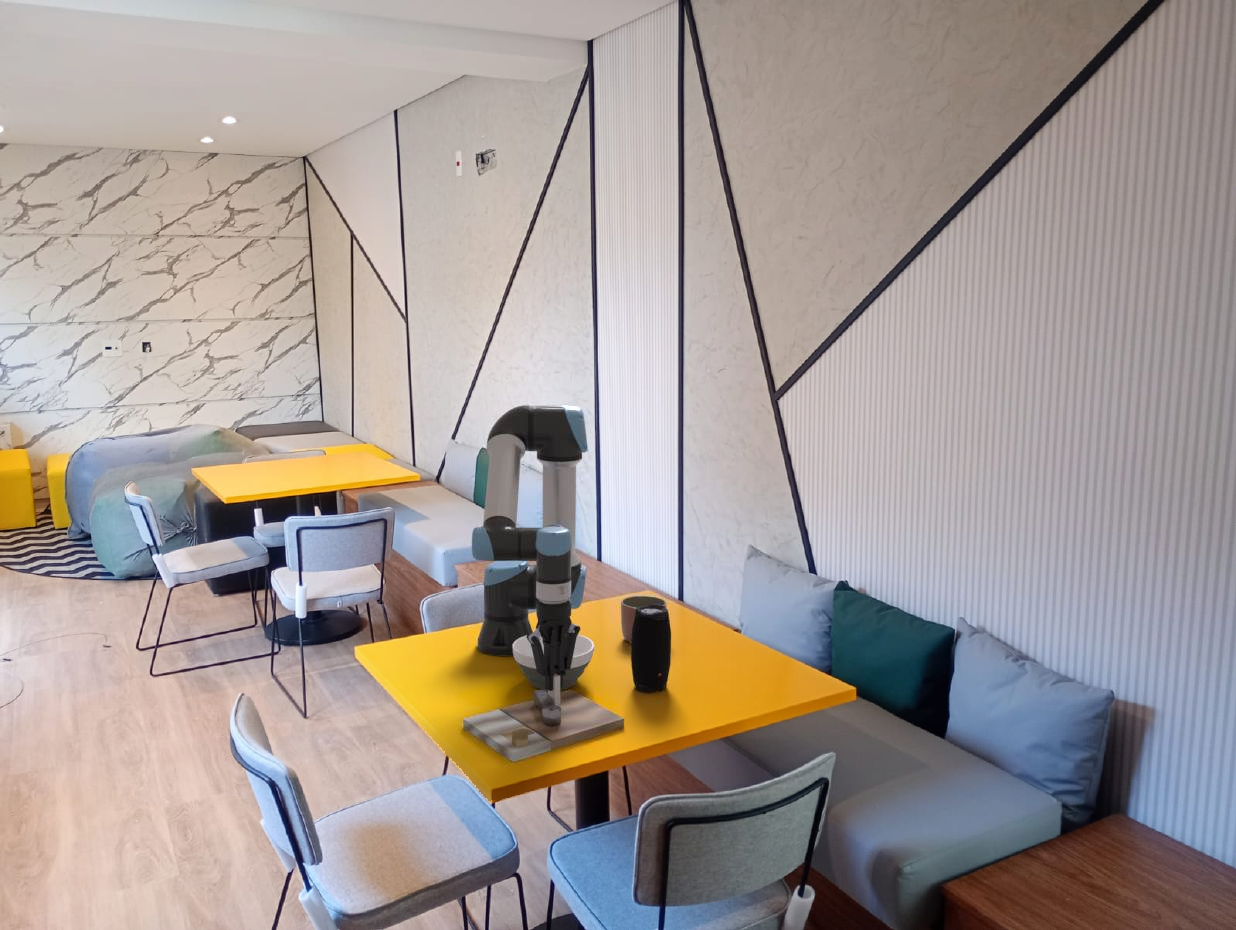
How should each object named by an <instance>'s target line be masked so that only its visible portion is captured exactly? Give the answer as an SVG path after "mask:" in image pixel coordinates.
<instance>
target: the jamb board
mask: <svg viewBox="0 0 1236 930" xmlns="http://www.w3.org/2000/svg"><path fill="white" fill-rule="evenodd" d="M556 706H559V707H561V723H560V724H558V725H553V726H550V725H545V724H543V722H542V714H541V712H540V711H539V709H538V707H537V706H536V704H535V702H534V699H531V700H527V701H523V702H520V703H517V704H513V705H509V706H505V707H502V708H500V707H499V708H498V709H494V710H490V711H487V712H483V713H479V714H476V715H472V716H469V717H465V718H462V728H463V729H464V730H466V731H467V732H468V733H470V734H472V735H473V736H475V737H476V738H477V739H479V740H480V741H482V742H483V743H484V744H486V745H487V746H488V747H490V748H492V749H493V750H494V751H496V752H498V753H499V754H500V755H502V756H503V757H504V758H506V759H507V760H509V761H510V762H511V763H515V762H519V761H521V760H524V759H528V758H531V757H534V756H537V755H539V754H540V755H541V754H544V753H546V752H550V751H553V750H556V749H560V748H563V747H566V746H570V745H572V744H576V743H578V742H582V741H586V740H588V739H591V738H594V737H595V738H596V737H598V736H600V735H604V734H607V733H610V732H613V731H617V730H620V729H623V728H625V717H622V716H620V715H619V714H617V713H615V712H613V711H611V710H609V709H608V708H606V707H604V706H602V705H600V704H598V703H596V702H595V701H592V700H590V699H589V698H587V697H585V696H583V695H581V694H580V693H578V692H576V691H574V690H573V689H570V688H569V689H566V690H564V691H563V690H562V691H560V704H559V705H556Z"/></svg>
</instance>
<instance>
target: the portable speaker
mask: <svg viewBox="0 0 1236 930" xmlns="http://www.w3.org/2000/svg"><path fill="white" fill-rule="evenodd" d="M630 645H631V646H630V647H631V651H630V661H631V663H630V665H631V672H632V680H633V684H634V687H635V689H636V691H638V692H640V693H646V694H650V693H651V692H652V691H655V690H661V691H665V690H666V689H667V686H668V685H667V684H668V680H669V676H670V675H669V674H670V668H671V659H672V655H671V654H672V652H671V651H672V628H671V623H670V614H669V610H668V608H667V607H666V608H665V606H663V605H659V604H650V605H647V606H642V607H636V611H635V618H634V623H633V627H632V643H630Z"/></svg>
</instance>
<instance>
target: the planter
mask: <svg viewBox="0 0 1236 930" xmlns="http://www.w3.org/2000/svg"><path fill="white" fill-rule="evenodd" d="M650 604H659V605H663V606H665V608H666V609H667V601H666V600H665V599H664V598H661V597H658V596H651V595H631V596H627V597H625V598H623V599H621V601H620V616H621V617H620V619H621V620H620V623H621V633H622V637H623V638H624V640H625V641H626V642H629V643H630V644H631V643H632V627H633V623H634V618H635V611H636V607H642V606H647V605H650Z"/></svg>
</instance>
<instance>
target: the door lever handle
mask: <svg viewBox="0 0 1236 930" xmlns="http://www.w3.org/2000/svg"><path fill="white" fill-rule="evenodd" d="M533 700H534V702H535V704H536V706H537V707H538V709H539V711H540V712H541V714H542V722H543V724H545V725H550V726H553V725H558V724H560V723H561V707H559V706H555V705H554V704H553V702H552V700H551V699H550V697H549V696H548V692H547V690H542V689H538V690H533Z"/></svg>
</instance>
